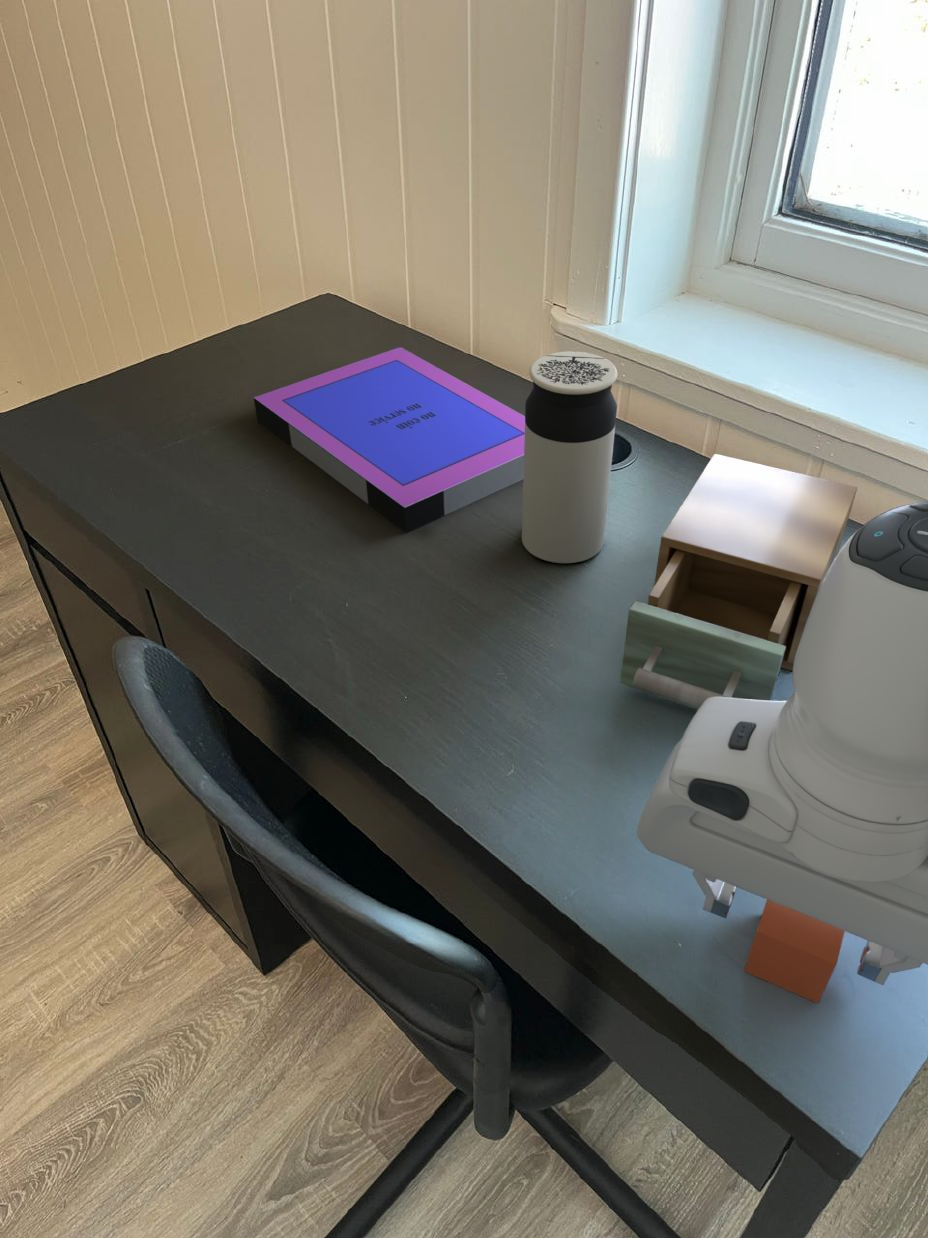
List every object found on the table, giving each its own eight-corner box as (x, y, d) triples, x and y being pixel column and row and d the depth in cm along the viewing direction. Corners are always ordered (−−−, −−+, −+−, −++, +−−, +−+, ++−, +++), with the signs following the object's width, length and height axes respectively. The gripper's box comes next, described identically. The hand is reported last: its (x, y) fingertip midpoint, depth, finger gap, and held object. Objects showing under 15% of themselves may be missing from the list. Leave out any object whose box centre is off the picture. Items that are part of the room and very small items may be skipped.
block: (834, 942, 59) (852, 901, 56) (818, 1004, 56) (836, 964, 53) (762, 913, 61) (776, 872, 58) (743, 971, 58) (756, 931, 55)
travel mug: (595, 572, 88) (611, 396, 77) (512, 558, 90) (516, 384, 78) (610, 525, 94) (627, 354, 82) (532, 513, 96) (538, 344, 84)
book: (400, 346, 120) (563, 437, 101) (401, 368, 121) (561, 461, 103) (253, 397, 110) (404, 507, 92) (257, 420, 112) (406, 532, 94)
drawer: (746, 770, 68) (766, 694, 63) (599, 718, 73) (607, 643, 68) (802, 627, 80) (823, 553, 75) (673, 590, 85) (685, 517, 80)
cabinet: (794, 672, 78) (821, 579, 71) (648, 626, 82) (661, 536, 76) (831, 575, 87) (858, 486, 81) (699, 539, 92) (714, 453, 86)
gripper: (1081, 822, 46) (983, 968, 55) (679, 687, 54) (651, 835, 63) (1077, 924, 42) (972, 1065, 51) (641, 762, 50) (616, 909, 59)
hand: (792, 937), depth 57 cm, fingers open, 8 cm apart
